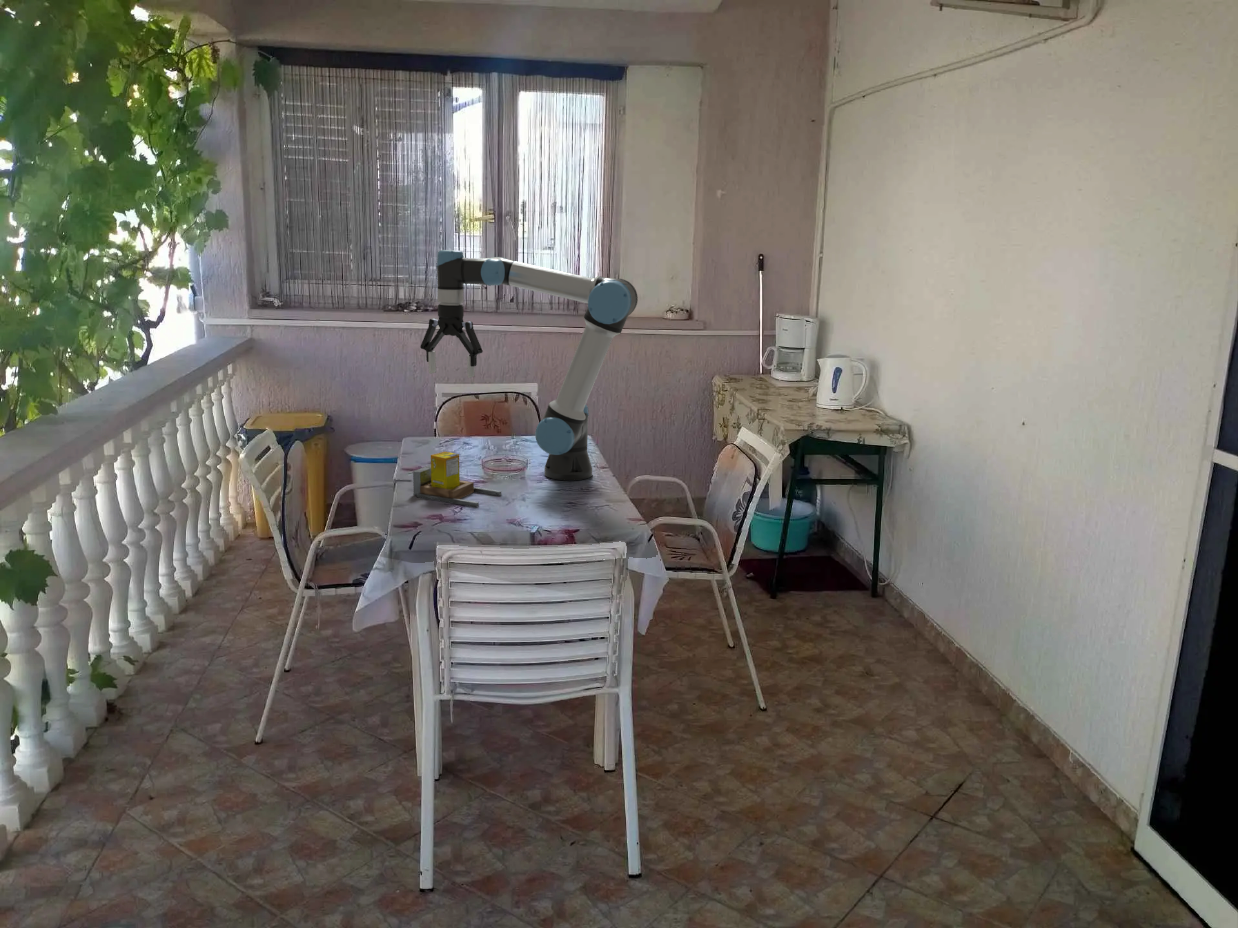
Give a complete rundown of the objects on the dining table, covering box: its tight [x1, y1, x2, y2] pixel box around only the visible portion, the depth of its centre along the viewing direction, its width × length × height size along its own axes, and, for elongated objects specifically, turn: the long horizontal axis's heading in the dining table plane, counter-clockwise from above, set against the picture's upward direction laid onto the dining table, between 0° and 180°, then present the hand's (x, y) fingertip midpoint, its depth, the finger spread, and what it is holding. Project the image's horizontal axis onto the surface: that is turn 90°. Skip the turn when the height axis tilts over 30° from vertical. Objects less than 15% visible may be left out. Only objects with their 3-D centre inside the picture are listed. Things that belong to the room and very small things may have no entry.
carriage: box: [420, 480, 475, 499], centre depth 268 cm, size 11×11×3 cm
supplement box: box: [430, 451, 460, 490], centre depth 267 cm, size 6×6×11 cm
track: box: [412, 464, 502, 508], centre depth 267 cm, size 22×14×7 cm, turn 67°
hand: (451, 375), depth 279 cm, fingers open, 13 cm apart
